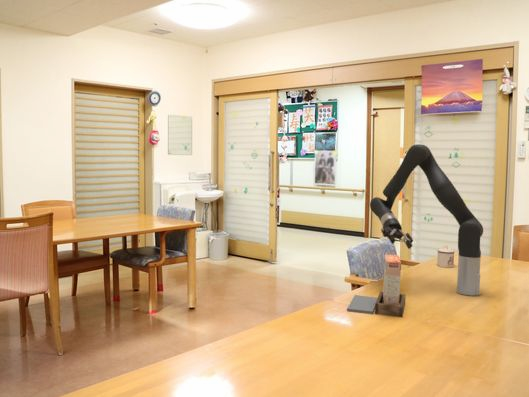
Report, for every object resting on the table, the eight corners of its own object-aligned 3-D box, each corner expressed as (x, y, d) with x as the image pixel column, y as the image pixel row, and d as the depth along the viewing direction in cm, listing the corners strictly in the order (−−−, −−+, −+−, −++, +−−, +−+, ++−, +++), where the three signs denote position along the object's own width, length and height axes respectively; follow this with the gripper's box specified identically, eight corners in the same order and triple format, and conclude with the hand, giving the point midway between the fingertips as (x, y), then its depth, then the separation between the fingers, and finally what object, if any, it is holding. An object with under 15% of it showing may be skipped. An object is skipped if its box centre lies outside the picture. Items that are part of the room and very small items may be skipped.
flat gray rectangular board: (378, 299, 209) (378, 297, 208) (372, 314, 190) (372, 311, 190) (354, 297, 212) (354, 294, 212) (347, 311, 193) (347, 308, 193)
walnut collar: (405, 303, 204) (405, 294, 204) (402, 317, 187) (402, 306, 186) (379, 300, 208) (380, 291, 207) (374, 313, 190) (375, 303, 190)
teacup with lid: (450, 268, 268) (451, 248, 267) (434, 266, 274) (435, 245, 273) (458, 265, 277) (459, 245, 276) (442, 262, 283) (443, 243, 282)
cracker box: (399, 314, 190) (401, 261, 188) (383, 313, 191) (385, 261, 189) (397, 303, 203) (399, 254, 201) (382, 302, 205) (384, 253, 203)
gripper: (381, 213, 224) (392, 233, 210) (407, 222, 227) (420, 242, 214) (373, 226, 227) (384, 247, 213) (399, 234, 231) (411, 255, 217)
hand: (402, 244), depth 213 cm, fingers open, 8 cm apart
